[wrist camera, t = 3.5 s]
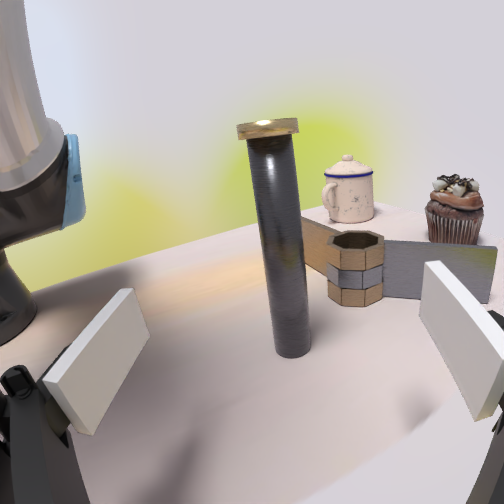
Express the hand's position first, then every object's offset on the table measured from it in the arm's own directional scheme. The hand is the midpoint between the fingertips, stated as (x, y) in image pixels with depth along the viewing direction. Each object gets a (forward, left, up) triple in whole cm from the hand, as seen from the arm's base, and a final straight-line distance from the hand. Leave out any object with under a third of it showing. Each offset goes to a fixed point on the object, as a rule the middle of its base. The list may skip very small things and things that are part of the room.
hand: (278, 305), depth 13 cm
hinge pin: (-9, +5, -10) cm, 14 cm away
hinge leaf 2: (-8, +18, -10) cm, 23 cm away
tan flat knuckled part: (-19, +15, -10) cm, 26 cm away
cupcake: (-14, +36, -10) cm, 40 cm away
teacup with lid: (-35, +31, -10) cm, 47 cm away
